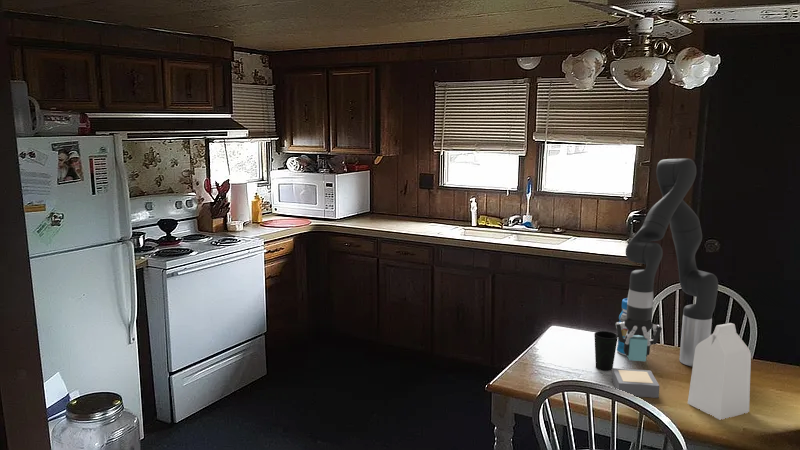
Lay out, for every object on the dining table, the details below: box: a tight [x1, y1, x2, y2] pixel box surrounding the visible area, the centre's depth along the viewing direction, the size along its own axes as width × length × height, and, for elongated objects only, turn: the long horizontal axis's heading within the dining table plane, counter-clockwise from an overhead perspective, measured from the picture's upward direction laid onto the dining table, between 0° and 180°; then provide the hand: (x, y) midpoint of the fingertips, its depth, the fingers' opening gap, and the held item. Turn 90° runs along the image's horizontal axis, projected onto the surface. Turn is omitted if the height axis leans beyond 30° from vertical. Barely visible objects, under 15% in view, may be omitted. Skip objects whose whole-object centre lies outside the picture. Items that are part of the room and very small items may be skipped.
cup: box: [594, 330, 618, 372], centre depth 218 cm, size 8×8×12 cm
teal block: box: [626, 335, 648, 362], centre depth 200 cm, size 5×5×7 cm
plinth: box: [611, 367, 660, 399], centre depth 202 cm, size 12×12×4 cm
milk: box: [687, 322, 752, 421], centre depth 187 cm, size 12×12×26 cm
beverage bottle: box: [616, 297, 628, 357], centre depth 231 cm, size 8×8×20 cm
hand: (636, 355), depth 200 cm, fingers closed on teal block, 5 cm apart
